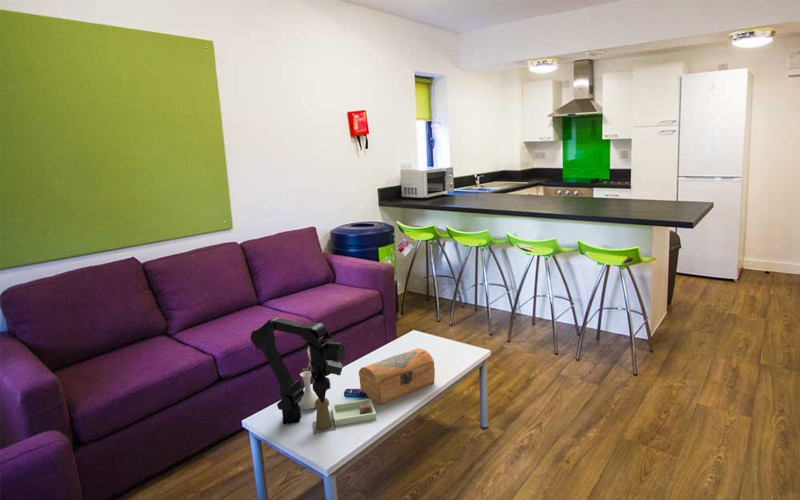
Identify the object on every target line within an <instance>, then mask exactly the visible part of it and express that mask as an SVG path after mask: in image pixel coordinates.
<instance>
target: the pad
mask: <svg viewBox="0 0 800 500" xmlns="http://www.w3.org/2000/svg"><path fill="white" fill-rule="evenodd" d="M331 423H332V426H331V427H330V428H329V429H327V430H318V429H317V428H316V421H313V422H312V425H313V426H312V427H313V434H314V435H316V434H321V433H325V432H332V431H336V430H337V429H336V426H335V423H334V418H331Z"/></svg>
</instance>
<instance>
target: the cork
mask: <svg viewBox="0 0 800 500" xmlns="http://www.w3.org/2000/svg"><path fill="white" fill-rule="evenodd" d="M315 406H316V407H315V408H316V415H315V416H316V420H315V422H316V428H317V429H318V430H327V429H329V428H330V427H331V426H332V423H331V419H332V418H331V413H330V410H329V406H330V400H329V399H328V398H327V397H325V401H324V403H321V401H320V400H319V398H318V399H317V400H316V402H315Z"/></svg>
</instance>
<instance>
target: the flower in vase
mask: <svg viewBox="0 0 800 500" xmlns="http://www.w3.org/2000/svg"><path fill="white" fill-rule="evenodd" d="M306 351H307V352H306V354H307V357H308V364H307V365H308V366H307V368H303V367H302V369H301V370H302V372H300V373H299V376H300V377H301V378H302V381H303V383H304V389H303V390H304V396H303V398H302V399H301V401H300V402H299V403H298V406H299V405H300V410H310V409H314V408H316V406H315V402H316V400H317V399H318V396H317V395H316V393H315V392H314V391H313V389H312V388H311V378H312V375H311V370H309V368H310V365H311V361H310V350H309V347H307V350H306Z"/></svg>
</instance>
